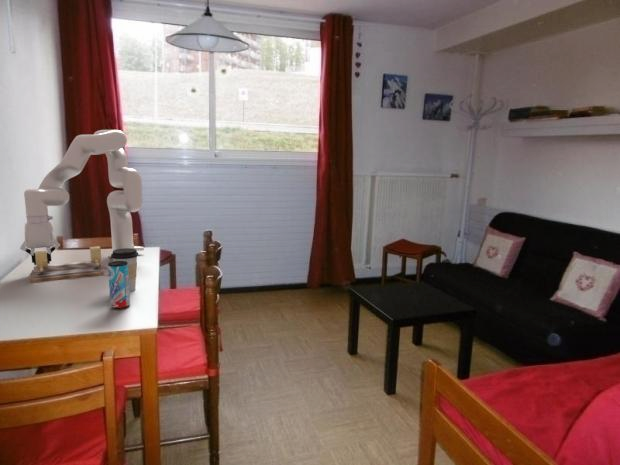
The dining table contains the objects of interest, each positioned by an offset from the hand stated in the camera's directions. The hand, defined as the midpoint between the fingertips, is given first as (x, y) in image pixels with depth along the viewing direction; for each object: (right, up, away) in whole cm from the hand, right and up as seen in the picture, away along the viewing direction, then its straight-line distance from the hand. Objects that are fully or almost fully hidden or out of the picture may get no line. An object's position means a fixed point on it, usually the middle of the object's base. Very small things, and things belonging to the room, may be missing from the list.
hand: (42, 263), depth 180 cm
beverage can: (+47, -12, -35) cm, 60 cm away
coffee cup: (+42, -9, -18) cm, 47 cm away
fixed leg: (+19, -1, +7) cm, 20 cm away
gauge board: (+10, -4, +2) cm, 11 cm away
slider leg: (+2, -3, -2) cm, 4 cm away
